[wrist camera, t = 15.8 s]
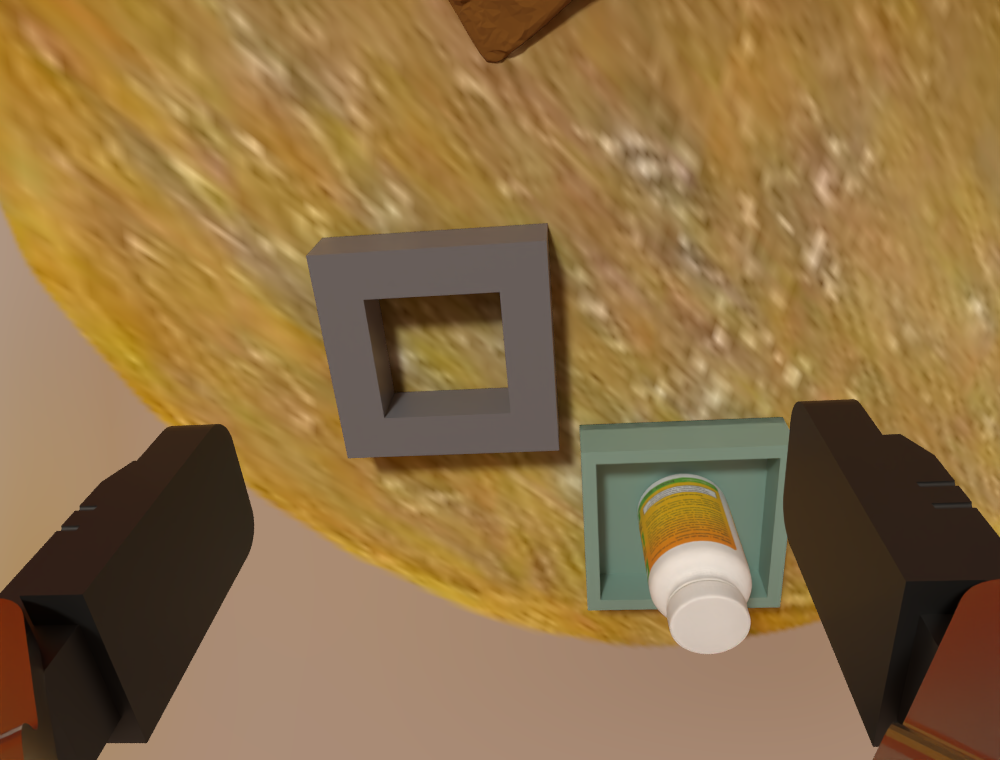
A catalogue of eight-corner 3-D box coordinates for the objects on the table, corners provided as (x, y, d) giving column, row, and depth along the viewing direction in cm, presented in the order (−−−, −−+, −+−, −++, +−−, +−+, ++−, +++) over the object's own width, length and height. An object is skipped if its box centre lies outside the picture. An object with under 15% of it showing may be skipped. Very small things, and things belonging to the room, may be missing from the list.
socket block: (547, 223, 40) (546, 240, 37) (559, 422, 45) (559, 450, 43) (322, 238, 41) (306, 255, 39) (360, 430, 47) (348, 458, 44)
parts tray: (782, 417, 44) (796, 445, 42) (767, 573, 50) (779, 607, 47) (579, 425, 45) (581, 452, 43) (586, 577, 51) (587, 610, 48)
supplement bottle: (618, 499, 47) (633, 616, 38) (695, 455, 45) (729, 568, 37) (667, 555, 49) (692, 680, 40) (742, 515, 47) (786, 636, 38)
